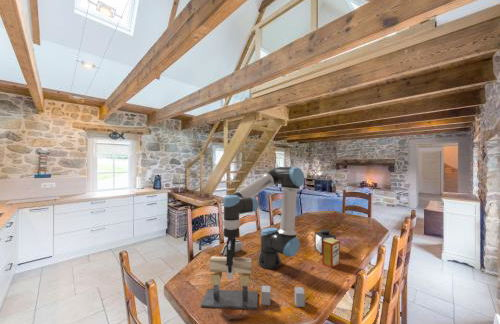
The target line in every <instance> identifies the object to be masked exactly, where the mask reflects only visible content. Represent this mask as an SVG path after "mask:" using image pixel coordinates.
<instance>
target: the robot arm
mask: <svg viewBox="0 0 500 324" xmlns="http://www.w3.org/2000/svg"><path fill="white" fill-rule="evenodd" d="M304 183H305V174H304V172H303V170H302V169H301V168H300V167H296V166H278V167H275V168H272V169H270V170H268V171H267V172H265V173H263V175H262V176H261V177H259V178H258V179H256V180H254V181H253V182H251V183H249V184H248V185H245V186H244V187H242V188H241V189H240V190H238V191H235V192H234V193H232V194H228V193H227V194H225V195H224V196H223V198H222V204H223V220H222V223H223V236H224V237H225V238H227V239H226V243H227V246H226V247H227V255H226V257H227V264H226V266H227V272H226V279H227V280H233V279H234V275H235V273H233V257H236V252H235V242H236V240H237V239H236V238H237V237H239V236H240V215H242V214H246V213H247V214H249V213H253V212H256V211H257V210H258V209H259V200H258V199H257V198H256V197H255V196H256V195H258V194H259V193H261V192H262V191H264V190H265V189H267V188H269V187H273V186H275V185H280V188H281V189H282V201H281V202H282V203H281V215H280V227H279V228H277V227H266V228H262V229H261V232H260V253H259V256H258V260H257V263H258V265H259V267H261V268H263V269H268V270H269V269H270V270H273V269H278V268H280V266H282V259H281V256H280V254H281V255H283V256H287V257H289V258H292V257H294V256H296V254H297V253H298V252H299V249H300V246H301V242H300V239H299V238H298V237H297V232H296V230H295V224H296V211H297V210H296V209H297V195H298V191H300V190H301V189H300V187H302V186H304Z"/></svg>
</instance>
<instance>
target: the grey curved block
mask: <svg viewBox="0 0 500 324" xmlns="http://www.w3.org/2000/svg"><path fill="white" fill-rule="evenodd" d="M226 246H227V242H226V243H225V244H224V245H223V248H222V251H221V250H220V253H222V254H221V255H222V256H223V255H224V256H223V257H226V256H227V247H226ZM242 249H243V242H242V241H241V240H240V239H236V242H235V253H237V252H241V251H242ZM225 255H226V256H225Z"/></svg>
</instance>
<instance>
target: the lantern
mask: <svg viewBox="0 0 500 324" xmlns="http://www.w3.org/2000/svg"><path fill="white" fill-rule="evenodd" d="M323 217H326V218H323V221H322V222H324V221H325V220H324V219H328V217H327V215H326V214H324V216H323ZM330 232H331V231H330V230H329V229H328V228H321V229H320V230H319V231H315V232H314V250H315V249H316V250H315V251H317V250H318V251H319V252H320V253H321V254H320V253H319V252H318V251H317V252H318V253H319V254H320V255H322V256H323V241H324V240H327V239H330V238H333V239H336V240H337V238H336V235H334V234H332V233H330Z"/></svg>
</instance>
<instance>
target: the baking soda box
mask: <svg viewBox="0 0 500 324" xmlns="http://www.w3.org/2000/svg"><path fill="white" fill-rule="evenodd" d="M340 260H341V240H338V239H337V238H336V239H333V238H330V239H327V240H324V241H323V255H322V265H323V266H325V267H327V266H328V268H329V267H330V268H329V269H334V268H336V267H338V266H340V265H341V261H340ZM339 264H340V265H339ZM337 265H338V266H337ZM335 266H336V267H335ZM333 267H334V268H333Z"/></svg>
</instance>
